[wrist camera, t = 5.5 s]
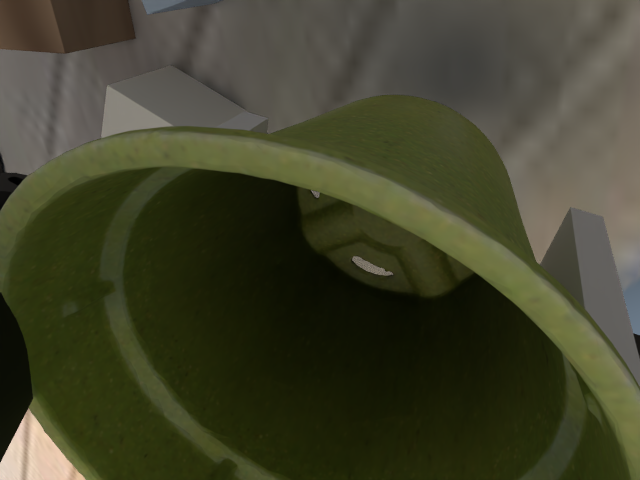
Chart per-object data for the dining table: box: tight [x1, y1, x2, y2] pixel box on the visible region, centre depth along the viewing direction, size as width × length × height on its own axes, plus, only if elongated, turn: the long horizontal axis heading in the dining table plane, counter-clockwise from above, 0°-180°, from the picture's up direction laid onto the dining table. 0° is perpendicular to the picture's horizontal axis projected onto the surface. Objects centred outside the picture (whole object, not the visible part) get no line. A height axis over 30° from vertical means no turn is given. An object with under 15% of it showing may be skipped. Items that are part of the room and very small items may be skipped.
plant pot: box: [0, 95, 640, 480], centre depth 10 cm, size 9×9×9 cm
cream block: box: [101, 65, 246, 138], centre depth 26 cm, size 5×5×5 cm
